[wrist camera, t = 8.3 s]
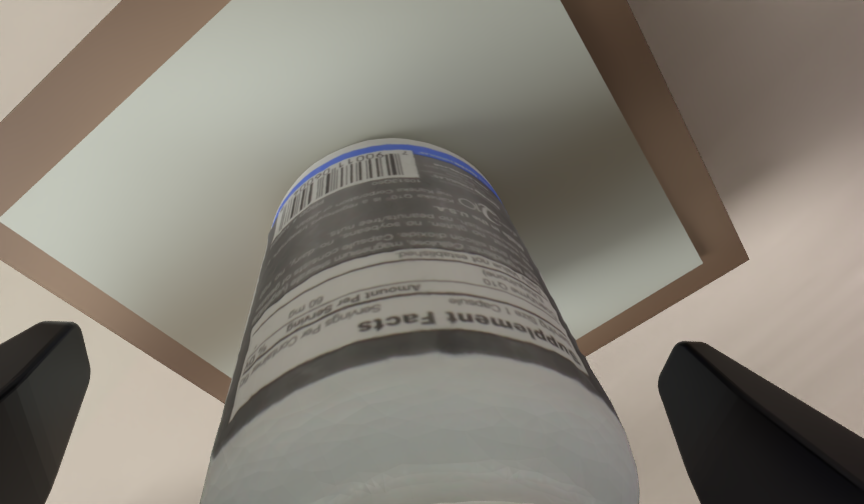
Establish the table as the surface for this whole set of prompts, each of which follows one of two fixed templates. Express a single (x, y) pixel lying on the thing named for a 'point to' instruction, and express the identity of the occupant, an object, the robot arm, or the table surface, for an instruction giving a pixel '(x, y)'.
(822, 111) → the table surface
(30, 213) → the pedestal
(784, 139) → the table surface
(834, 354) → the table surface
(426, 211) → the pill bottle
